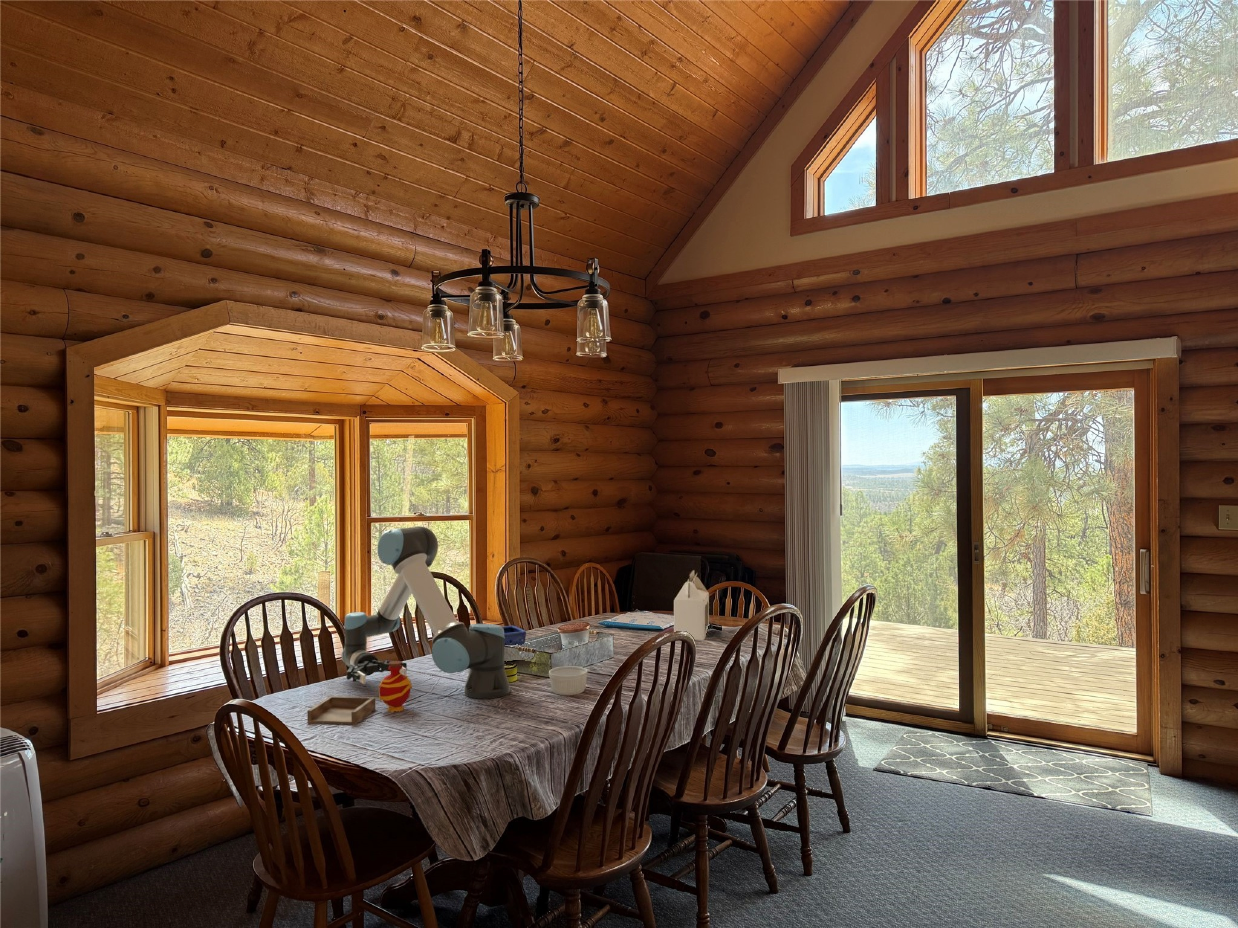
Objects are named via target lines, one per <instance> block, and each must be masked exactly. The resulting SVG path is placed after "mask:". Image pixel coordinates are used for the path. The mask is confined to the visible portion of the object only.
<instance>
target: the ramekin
mask: <svg viewBox="0 0 1238 928" xmlns="http://www.w3.org/2000/svg"><path fill="white" fill-rule="evenodd" d="M587 676H588V669H587V668H585V667H582V666H573V665H571V666H570V665H564V666H557V667H554V668H552V669H550V670H549V671H548V677H549V683H550V689H551V690H552V691H551V692H553V693H554V694H556V695H560V696H573V695H574V696H575V695H579V694H582V693H583V692H584V691H585V690H586V686H587V678H588V677H587Z"/></svg>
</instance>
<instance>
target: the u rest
mask: <svg viewBox="0 0 1238 928" xmlns="http://www.w3.org/2000/svg"><path fill="white" fill-rule="evenodd" d="M372 711H373V712H374V711H376V697H371V696H369V697H368V696H367V697H366V696H339V695H338V696H337V695H329V696H328V697H326V698H325V699H323V700H322V701H320V702H318V703H317V704H315V705H314V706H313V707H310V709H309V708H308V709H307V716H306V718H307V720H306V721H307V724H318V723H321V724H323V725H324V724H325V725H327V724H328V725H349V726H350V725H352V726H353V725H354V726H355V725H357V724H358V723H360V722H361V721H362V720H364V719H365V718H366V717H368V716H369V715H370V714H372V713H373V712H372ZM368 714H369V715H368ZM321 724H320V725H321Z"/></svg>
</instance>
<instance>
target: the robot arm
mask: <svg viewBox="0 0 1238 928" xmlns="http://www.w3.org/2000/svg"><path fill="white" fill-rule="evenodd" d="M376 549H377V555H378V559H379V560H380V562H381V563H382V564H385V565H387V566H391V567H392V569H393V571H394V572H395V574H397V576H396V578H395V580H394V581H393V583H392V586H391V587H390V589H389V591H388V592H387V593H386V596H385V598H384V600H383V602H382V604H381V605H380V607H379V609H378V611H377V612H376V613H375V614H371V615H368V614H367V613H366V612H362V611H359V612H358V611H356V612H350V613H347V614H346V615H345V617H344V625H343V628H344V648H343V649H342V652H341V655H340V656H341V660H342V662H343V663H344V664H345V665H346V666H347V667H348V669H347V671H346V680H347V681H348V680H351V679H352V682H357V681H358V682H359V683H361V684H363V685H365V684H366V682H367V681H366V677H367V676H371V675H373V674H374V673H384V672H391V670H389V669H388V668H389V662H392V661H393V660H390V659H385V661H381V660H379V659H378V658H377V656H376V655H374V654H372V653H371V652H369V651H368V650H367V649H368V648H367V647H368V645H367V644H368V642H367V641H368V638H371V637H374V636H378V635H379V636H380V635H384V634H389V633H392V632H394V631H397V630H398V629H399V627H400V626H401V617H400V615H401V613H402V611H403V610H404V608H405V606H406V604H407V602H408V600H409V599H410V597H411V595H412V596H413V598H414V600H415V602H416V605H417V606H418V608H419V609H420V611H421V613H422V615H423V617H424V619H425V621H426V623H427V625H428V627H429V628H430V630H431V632H432V633H433V635H432V636H433V637H432V639H431V642H432V647H431V648H432V649H431V652H432V653H431V657H432V658H431V659H432V660H433V661H432V662H433V663H434V665H435V666H436V667H437V669H439V670H440V671H441V672H443V673H447V674H456V673H462V672H464V671H466V670H469V672H468V675H467V678H466V681H465V684H464V695H465V696H466V697H468V698H473V699H480V700H484V699H496V698H500V697H505V696H507V695H508V694H509V693H510V691H511V690H510V689H511V688H510V687H511V686H510V683H509V680H508V676H507V673H506V670H505V662H504V639H505V637H504V629H503V628H502V627H503V626H501V625H498V624H492V623H491V624H489V623H472V624H470V625H469V628H467V627H466V625H465V623H464V622H461V621H458V620H457V617H455V615H454V612H453V610H452V609H451V608H450V605H449V604H448V602H447V600H446V598H445V596H444V595H443V593H442V591H441V588H440V587H439V585H438V583H437V581H436V580H435V577H434V576H433V574H432V572H431V570H430V569H429V568H430V567H431V566H432V564H433V563H434V561H435V559H436V557H437V554H438V551H439V542H438V538H437V536H436V534H435V533H434V532H433V531H432V530H431V529H430V528H428V527H425V526H411V527H404V528H403V527H402V528H393V529H388V530H385V531H384V532H383V533H382V534H381V536H380V537H379V540H378V542H377V547H376ZM407 664H408V663H407V662H403V661H401V665H402V669H401V670H400V673H402V675H404V676H407V670H408V668H407V666H408V665H407ZM407 677H408V676H407Z"/></svg>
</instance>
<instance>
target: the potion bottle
mask: <svg viewBox="0 0 1238 928" xmlns="http://www.w3.org/2000/svg"><path fill="white" fill-rule="evenodd" d="M391 661H392V662H389V668H388V669H389V670H391V671H390V674H388V675H386V676H385V677H383V679H382V680H381V682H380V684H379V686H378V693H379V696H378V698H379V700H380V701H382V702H383V703H384V704H385V705H386V706H387V707H388V708H387V710H386V711H387V712H388V711H391V712H390V713H394V712H393V711H399V712H402V711H404V709H403V708H404V707H403V705H404V704H405V703H406V702H407V700H408V699H409V698H410V693H411V689H412V687H413V685H412V680H410V678H409V676H404V675H402V673H400V670H401V669H402V665H401V662H402V661H401V660H391Z"/></svg>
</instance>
